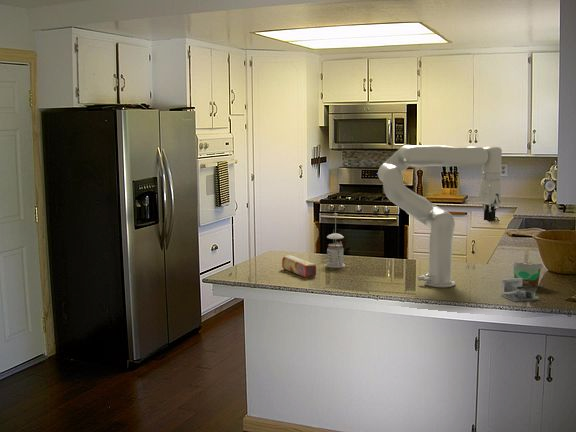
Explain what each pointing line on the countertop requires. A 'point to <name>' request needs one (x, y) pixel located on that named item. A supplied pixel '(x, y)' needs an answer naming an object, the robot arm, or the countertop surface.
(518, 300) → the gauge body
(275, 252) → the countertop surface
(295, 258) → the snack package
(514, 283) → the grey boxy piece
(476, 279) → the countertop surface
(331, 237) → the french press
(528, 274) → the food container
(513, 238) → the countertop surface
